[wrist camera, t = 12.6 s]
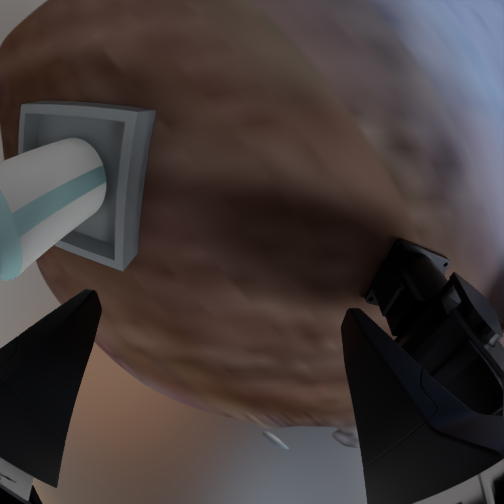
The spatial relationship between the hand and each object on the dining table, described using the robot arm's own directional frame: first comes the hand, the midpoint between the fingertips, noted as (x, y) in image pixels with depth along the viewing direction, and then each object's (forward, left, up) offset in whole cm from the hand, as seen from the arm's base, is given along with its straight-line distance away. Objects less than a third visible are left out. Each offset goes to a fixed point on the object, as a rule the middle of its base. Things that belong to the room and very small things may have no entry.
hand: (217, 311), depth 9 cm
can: (+15, +2, -12) cm, 19 cm away
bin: (+15, +2, -13) cm, 20 cm away
